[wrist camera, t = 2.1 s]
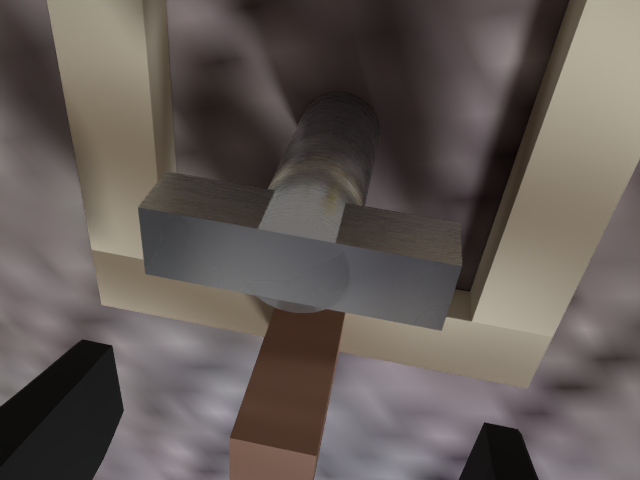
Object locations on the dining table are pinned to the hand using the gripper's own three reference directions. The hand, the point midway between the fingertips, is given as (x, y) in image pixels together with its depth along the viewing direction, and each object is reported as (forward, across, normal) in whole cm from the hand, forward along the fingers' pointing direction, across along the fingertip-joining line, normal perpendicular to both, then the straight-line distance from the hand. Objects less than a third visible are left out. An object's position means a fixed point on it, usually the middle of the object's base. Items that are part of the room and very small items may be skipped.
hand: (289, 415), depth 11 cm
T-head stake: (+4, 0, -4) cm, 6 cm away
